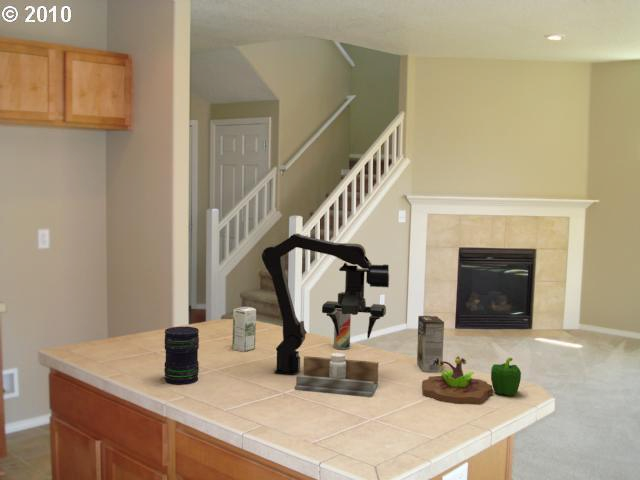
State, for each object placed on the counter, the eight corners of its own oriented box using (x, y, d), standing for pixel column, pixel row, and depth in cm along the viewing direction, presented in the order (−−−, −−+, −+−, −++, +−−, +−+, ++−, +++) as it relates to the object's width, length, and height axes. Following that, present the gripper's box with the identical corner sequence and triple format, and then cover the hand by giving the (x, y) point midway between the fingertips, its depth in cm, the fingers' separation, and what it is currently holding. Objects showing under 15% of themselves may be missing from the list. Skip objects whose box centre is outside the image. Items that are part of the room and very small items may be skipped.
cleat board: (294, 389, 194) (295, 365, 193) (304, 379, 204) (305, 356, 204) (371, 397, 189) (372, 372, 188) (377, 385, 199) (378, 362, 199)
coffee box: (416, 364, 224) (417, 315, 222) (435, 364, 224) (437, 315, 223) (422, 372, 215) (424, 321, 213) (442, 372, 215) (444, 321, 214)
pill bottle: (347, 382, 199) (348, 353, 198) (342, 386, 194) (343, 357, 194) (331, 380, 200) (332, 351, 200) (326, 384, 196) (327, 355, 195)
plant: (414, 399, 188) (416, 359, 187) (426, 380, 207) (427, 344, 206) (489, 409, 182) (491, 367, 181) (494, 388, 201) (496, 350, 200)
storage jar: (205, 378, 203) (205, 328, 201) (185, 387, 194) (185, 335, 193) (177, 373, 207) (178, 325, 206) (157, 382, 198) (157, 331, 197)
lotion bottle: (348, 350, 240) (349, 293, 238) (332, 349, 241) (333, 292, 239) (350, 346, 246) (352, 291, 244) (335, 345, 247) (336, 290, 245)
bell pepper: (504, 399, 189) (506, 364, 188) (484, 391, 197) (486, 356, 196) (527, 395, 193) (529, 360, 192) (506, 387, 200) (508, 354, 200)
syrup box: (243, 346, 242) (243, 306, 241) (255, 349, 239) (256, 308, 237) (232, 349, 237) (232, 308, 236) (244, 352, 234) (245, 310, 233)
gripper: (318, 288, 201) (317, 340, 202) (381, 292, 197) (379, 345, 198) (326, 282, 212) (325, 332, 213) (386, 286, 207) (385, 337, 209)
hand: (353, 336), depth 208 cm, fingers open, 9 cm apart
